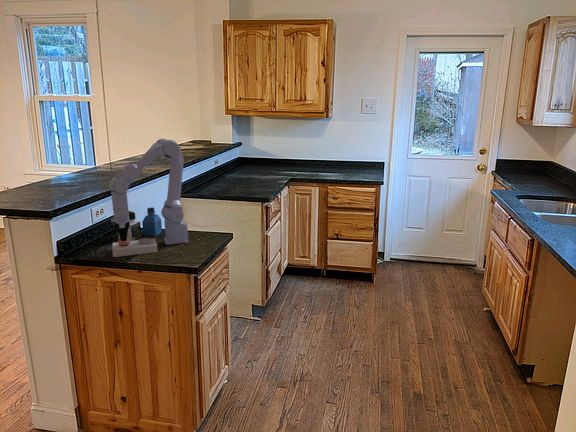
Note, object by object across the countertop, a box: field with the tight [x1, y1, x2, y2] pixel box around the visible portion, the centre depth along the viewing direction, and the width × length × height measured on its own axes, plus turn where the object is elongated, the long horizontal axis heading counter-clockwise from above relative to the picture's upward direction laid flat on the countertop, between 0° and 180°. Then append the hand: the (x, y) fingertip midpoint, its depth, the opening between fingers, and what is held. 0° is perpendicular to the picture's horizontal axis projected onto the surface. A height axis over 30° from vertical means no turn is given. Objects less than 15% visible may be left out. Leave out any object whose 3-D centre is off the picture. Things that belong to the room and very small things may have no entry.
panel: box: [111, 237, 158, 258], centre depth 188 cm, size 17×10×3 cm, turn 110°
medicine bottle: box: [117, 210, 142, 241], centre depth 204 cm, size 7×7×12 cm
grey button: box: [138, 237, 151, 244], centre depth 189 cm, size 4×4×4 cm
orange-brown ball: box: [117, 239, 131, 247], centre depth 186 cm, size 4×4×4 cm
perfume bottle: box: [141, 207, 163, 237], centre depth 210 cm, size 6×6×12 cm
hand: (123, 240), depth 186 cm, fingers closed, pressing on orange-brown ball
